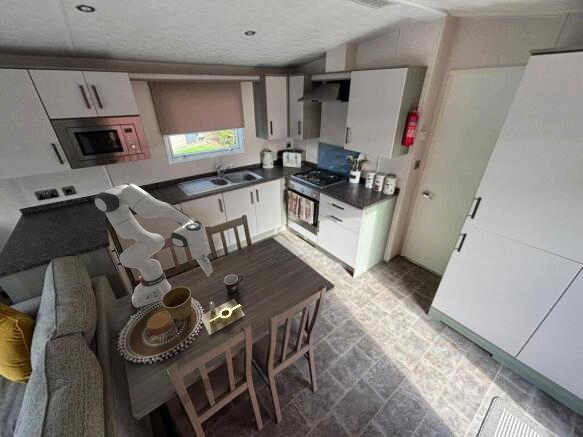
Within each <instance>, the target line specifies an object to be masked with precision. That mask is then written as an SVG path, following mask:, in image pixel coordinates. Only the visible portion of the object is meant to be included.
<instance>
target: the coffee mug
mask: <svg viewBox="0 0 583 437" xmlns="http://www.w3.org/2000/svg"><path fill="white" fill-rule="evenodd" d="M239 279H240V280H239ZM242 280H243V275H239V276H237V275H236V274H229V275H226V276H225V277H224V279H223V282H224V285H225V288H226V291H227V293H229V294H236V293H237V292H238V289H239V288H238V287H239V286H238V285H239V284H240V283H241V282H242Z"/></svg>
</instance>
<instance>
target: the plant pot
mask: <svg viewBox="0 0 583 437" xmlns="http://www.w3.org/2000/svg"><path fill="white" fill-rule="evenodd" d="M191 291H192V290H190V288H188V287H187V286H178V287H174V288H171V290H170V291H168V292H167V293H166V294H165V295H164V296H163V298H162V300H161V305H162V306H163V308H164V309H165V310H166V311H167V313H168V314H169V315H170V316H171V317H172V318H174V319H175V320H177V321H181V322H182V321H185V320H186V319H188V318H189V317H190V315H191V312H192V311H191V310H192V292H191Z"/></svg>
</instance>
